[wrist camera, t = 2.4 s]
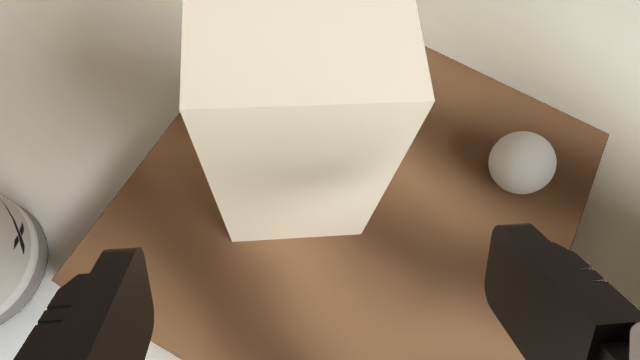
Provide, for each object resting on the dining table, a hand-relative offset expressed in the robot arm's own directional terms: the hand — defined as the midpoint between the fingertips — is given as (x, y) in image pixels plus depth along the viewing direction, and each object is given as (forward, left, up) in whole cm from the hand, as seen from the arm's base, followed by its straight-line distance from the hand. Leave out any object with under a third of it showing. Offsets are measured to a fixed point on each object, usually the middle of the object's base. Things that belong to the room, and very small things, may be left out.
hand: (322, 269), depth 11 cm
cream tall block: (-5, -3, -11) cm, 12 cm away
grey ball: (-11, +6, -11) cm, 16 cm away
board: (-6, 0, -12) cm, 14 cm away
